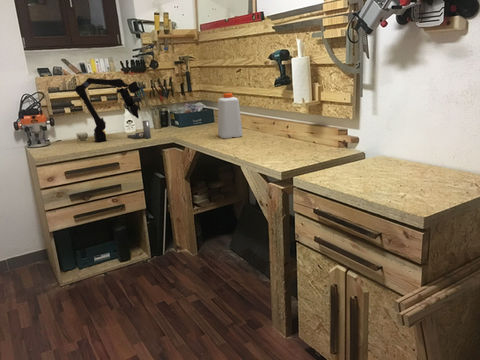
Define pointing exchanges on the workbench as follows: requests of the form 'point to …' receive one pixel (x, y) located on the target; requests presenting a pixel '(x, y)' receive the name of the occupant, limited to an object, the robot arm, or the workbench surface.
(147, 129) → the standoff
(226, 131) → the plastic bottle
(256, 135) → the workbench surface
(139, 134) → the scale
